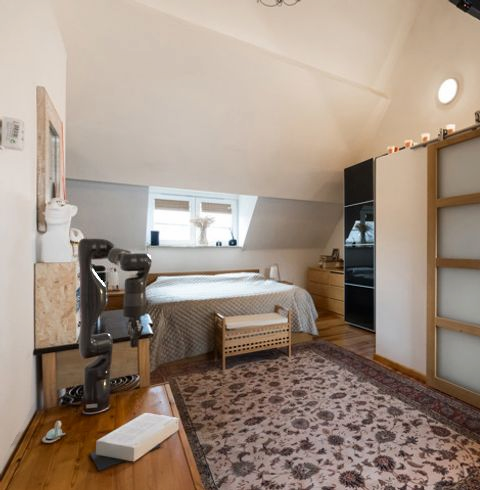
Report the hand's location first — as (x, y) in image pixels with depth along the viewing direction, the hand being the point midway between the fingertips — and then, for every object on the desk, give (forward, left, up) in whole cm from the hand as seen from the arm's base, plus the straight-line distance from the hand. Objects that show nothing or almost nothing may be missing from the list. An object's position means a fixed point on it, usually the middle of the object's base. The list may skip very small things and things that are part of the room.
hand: (134, 347), depth 138 cm
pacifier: (-13, -22, -33) cm, 42 cm away
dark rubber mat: (+14, -6, -33) cm, 37 cm away
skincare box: (+6, -5, -30) cm, 31 cm away
